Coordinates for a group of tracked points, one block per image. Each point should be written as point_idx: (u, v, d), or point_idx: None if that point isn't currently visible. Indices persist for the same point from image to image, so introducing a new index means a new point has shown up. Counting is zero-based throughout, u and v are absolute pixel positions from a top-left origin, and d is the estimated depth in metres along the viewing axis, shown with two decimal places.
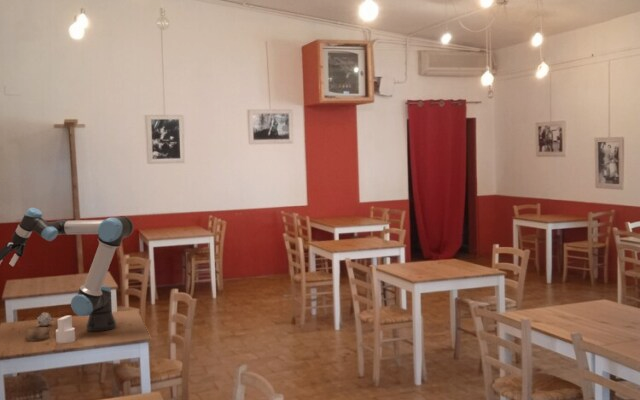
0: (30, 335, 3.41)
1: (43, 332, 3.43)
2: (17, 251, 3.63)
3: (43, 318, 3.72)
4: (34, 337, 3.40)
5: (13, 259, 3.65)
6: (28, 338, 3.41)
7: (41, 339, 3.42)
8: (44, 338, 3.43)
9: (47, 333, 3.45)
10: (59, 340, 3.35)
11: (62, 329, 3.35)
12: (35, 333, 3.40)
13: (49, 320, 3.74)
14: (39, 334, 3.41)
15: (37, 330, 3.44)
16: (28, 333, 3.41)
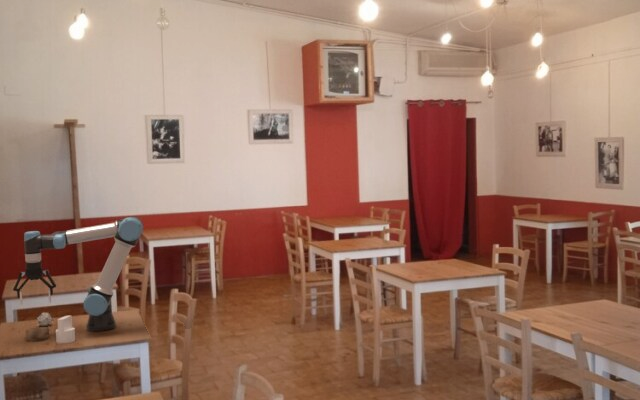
0: (30, 335, 3.41)
1: (43, 332, 3.43)
2: (45, 283, 3.46)
3: (43, 318, 3.72)
4: (34, 337, 3.40)
5: None
6: (28, 338, 3.41)
7: (41, 339, 3.42)
8: (44, 338, 3.43)
9: (47, 333, 3.45)
10: (59, 340, 3.35)
11: (62, 329, 3.35)
12: (35, 333, 3.40)
13: (49, 320, 3.74)
14: (39, 334, 3.41)
15: (37, 330, 3.44)
16: (28, 333, 3.41)
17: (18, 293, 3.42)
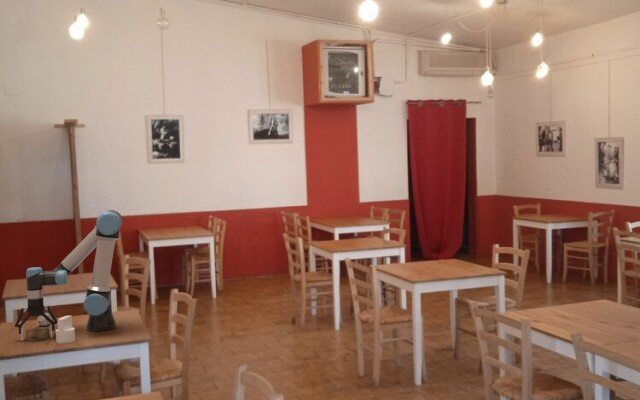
0: (30, 335, 3.41)
1: (43, 332, 3.43)
2: None
3: (43, 318, 3.72)
4: (34, 337, 3.40)
5: None
6: (28, 338, 3.41)
7: (41, 339, 3.42)
8: (44, 338, 3.43)
9: (47, 333, 3.45)
10: (59, 340, 3.35)
11: (62, 329, 3.35)
12: (35, 333, 3.40)
13: None
14: (39, 334, 3.41)
15: (37, 330, 3.44)
16: (28, 333, 3.41)
17: (19, 329, 3.43)
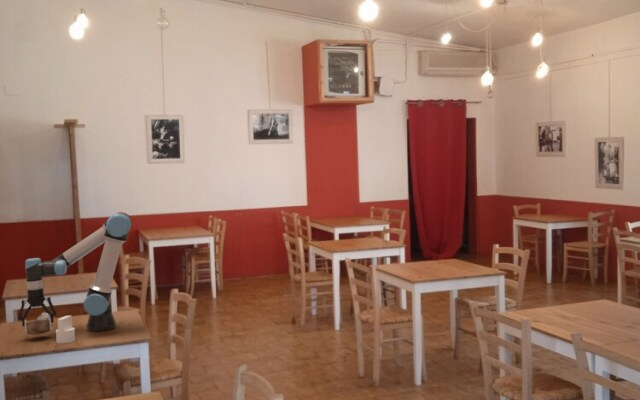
0: (31, 327, 3.40)
1: (44, 324, 3.42)
2: None
3: (43, 318, 3.72)
4: (35, 329, 3.40)
5: None
6: (29, 331, 3.41)
7: (42, 331, 3.42)
8: (45, 330, 3.43)
9: (48, 325, 3.45)
10: (59, 340, 3.35)
11: (62, 329, 3.35)
12: (35, 325, 3.40)
13: None
14: (40, 326, 3.41)
15: (38, 322, 3.44)
16: (29, 326, 3.41)
17: (23, 322, 3.43)
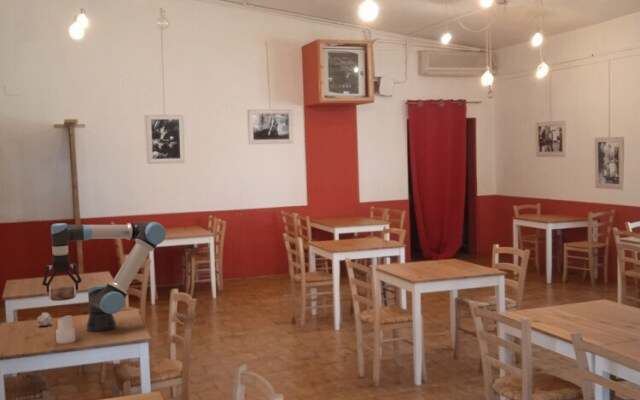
0: (55, 293, 3.33)
1: (68, 291, 3.35)
2: (71, 278, 3.40)
3: (43, 318, 3.72)
4: (59, 295, 3.33)
5: (74, 289, 3.40)
6: (53, 297, 3.34)
7: (66, 298, 3.34)
8: (69, 297, 3.36)
9: (72, 292, 3.38)
10: (59, 340, 3.35)
11: (62, 329, 3.35)
12: (60, 291, 3.33)
13: (49, 320, 3.74)
14: (64, 292, 3.34)
15: (62, 289, 3.37)
16: (53, 291, 3.34)
17: (47, 288, 3.36)
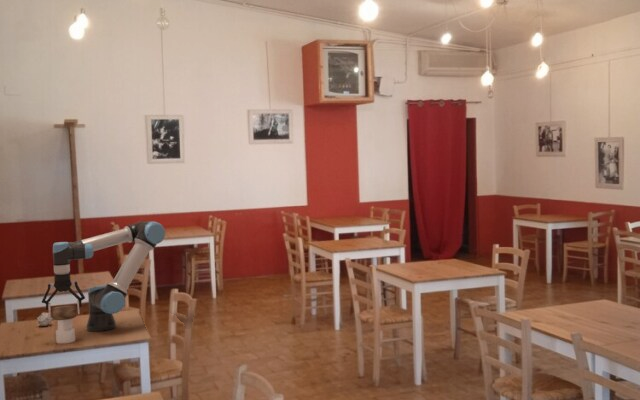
0: (57, 313, 3.34)
1: (70, 310, 3.36)
2: (74, 295, 3.40)
3: (43, 318, 3.72)
4: (61, 315, 3.34)
5: (77, 306, 3.41)
6: (55, 316, 3.34)
7: (68, 317, 3.35)
8: (71, 316, 3.36)
9: (74, 311, 3.38)
10: (59, 340, 3.35)
11: (62, 329, 3.35)
12: (62, 311, 3.33)
13: (49, 320, 3.74)
14: (66, 312, 3.34)
15: (64, 308, 3.37)
16: (55, 311, 3.34)
17: (47, 305, 3.36)
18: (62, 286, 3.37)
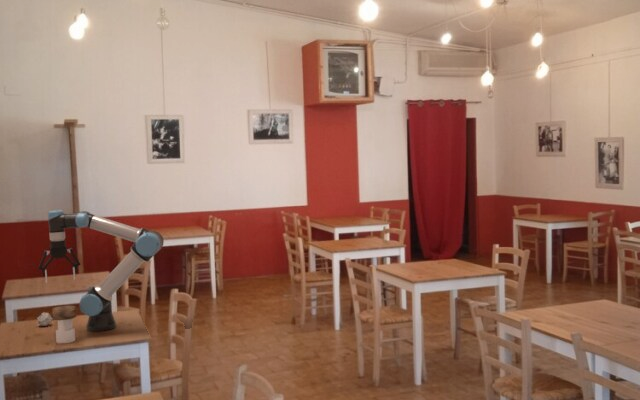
0: (57, 313, 3.34)
1: (70, 310, 3.36)
2: None
3: (43, 318, 3.72)
4: (61, 315, 3.34)
5: (73, 272, 3.52)
6: (55, 316, 3.34)
7: (68, 317, 3.35)
8: (71, 316, 3.36)
9: (74, 311, 3.38)
10: (59, 340, 3.35)
11: (62, 329, 3.35)
12: (62, 311, 3.33)
13: (49, 320, 3.74)
14: (66, 312, 3.34)
15: (64, 308, 3.37)
16: (55, 311, 3.34)
17: (43, 272, 3.45)
18: (58, 253, 3.47)
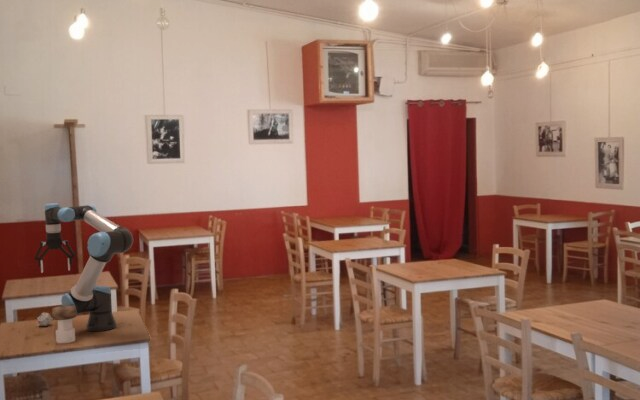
0: (57, 313, 3.34)
1: (70, 310, 3.36)
2: (65, 253, 3.65)
3: (43, 318, 3.72)
4: (61, 315, 3.33)
5: (68, 263, 3.66)
6: (55, 316, 3.34)
7: (68, 317, 3.35)
8: (71, 316, 3.36)
9: (74, 311, 3.38)
10: (59, 340, 3.35)
11: (62, 329, 3.35)
12: (62, 311, 3.33)
13: (49, 320, 3.74)
14: (66, 312, 3.34)
15: (64, 308, 3.37)
16: (55, 311, 3.34)
17: (39, 262, 3.61)
18: (53, 244, 3.62)
